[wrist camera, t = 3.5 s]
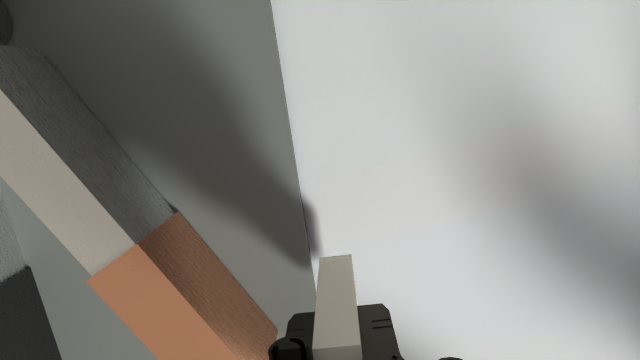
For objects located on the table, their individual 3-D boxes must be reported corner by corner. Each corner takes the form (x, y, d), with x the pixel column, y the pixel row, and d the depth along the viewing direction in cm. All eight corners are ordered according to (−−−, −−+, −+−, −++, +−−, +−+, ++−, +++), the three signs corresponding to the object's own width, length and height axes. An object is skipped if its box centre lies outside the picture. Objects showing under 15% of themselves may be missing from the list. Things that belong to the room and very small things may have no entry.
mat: (-180, -121, 17) (-192, -126, 16) (238, -204, 16) (236, -211, 15) (20, 404, 23) (14, 409, 23) (329, 376, 22) (329, 381, 22)
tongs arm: (-61, 14, 18) (-205, -13, 13) (-20, -27, 17) (-153, -71, 12) (237, 356, 21) (210, 432, 17) (278, 330, 21) (262, 400, 16)
